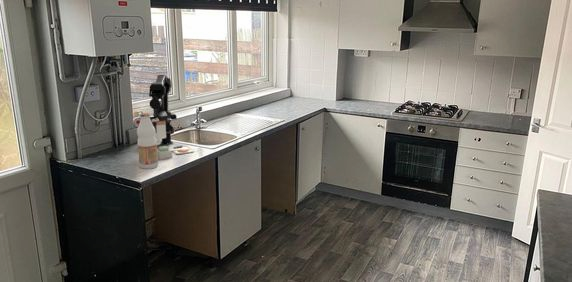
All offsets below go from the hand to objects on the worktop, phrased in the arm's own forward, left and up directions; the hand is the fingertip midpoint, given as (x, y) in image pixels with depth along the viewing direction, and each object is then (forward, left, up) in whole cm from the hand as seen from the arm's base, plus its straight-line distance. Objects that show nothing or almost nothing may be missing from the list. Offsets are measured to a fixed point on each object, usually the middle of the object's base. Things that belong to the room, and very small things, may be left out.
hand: (160, 132), depth 246 cm
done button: (+9, -2, -9) cm, 13 cm away
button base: (+9, -2, -12) cm, 15 cm away
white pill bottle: (0, 0, -3) cm, 3 cm away
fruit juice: (+21, -14, -12) cm, 28 cm away
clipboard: (+4, +11, -12) cm, 16 cm away
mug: (-13, +2, -11) cm, 17 cm away
